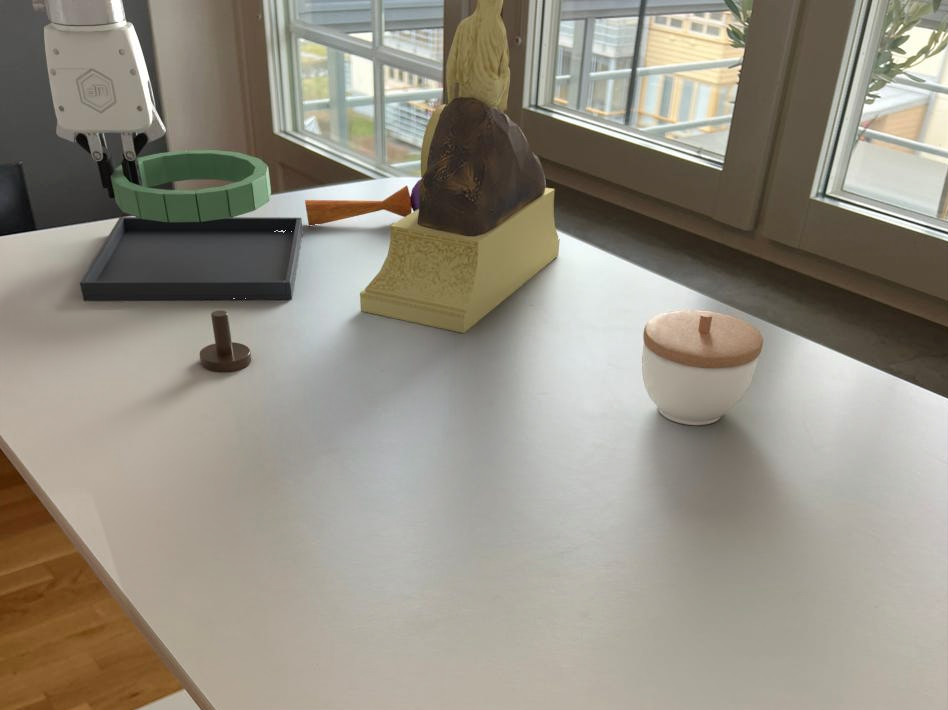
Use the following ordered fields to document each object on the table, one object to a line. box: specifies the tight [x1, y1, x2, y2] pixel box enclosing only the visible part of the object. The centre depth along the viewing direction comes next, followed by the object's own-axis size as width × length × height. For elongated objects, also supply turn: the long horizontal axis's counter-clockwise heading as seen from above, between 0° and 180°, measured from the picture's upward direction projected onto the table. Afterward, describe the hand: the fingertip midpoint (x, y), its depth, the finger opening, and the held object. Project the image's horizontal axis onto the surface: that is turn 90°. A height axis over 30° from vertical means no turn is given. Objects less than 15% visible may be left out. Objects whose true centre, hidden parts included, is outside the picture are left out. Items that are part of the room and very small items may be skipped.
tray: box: [79, 216, 303, 301], centre depth 121 cm, size 23×23×2 cm
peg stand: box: [199, 309, 252, 373], centre depth 99 cm, size 5×5×5 cm
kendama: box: [304, 178, 422, 226], centre depth 133 cm, size 6×6×20 cm
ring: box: [111, 149, 272, 222], centre depth 115 cm, size 18×18×3 cm
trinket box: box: [641, 309, 764, 426], centre depth 92 cm, size 11×11×9 cm
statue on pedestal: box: [359, 0, 560, 334], centre depth 110 cm, size 28×13×30 cm, turn 155°
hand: (124, 193), depth 116 cm, fingers closed on ring, 1 cm apart
